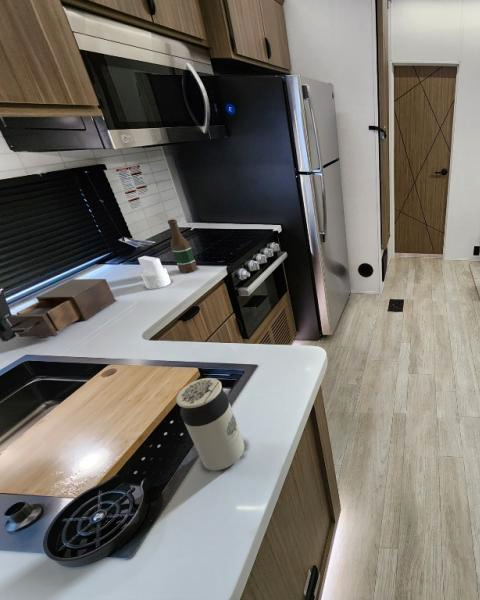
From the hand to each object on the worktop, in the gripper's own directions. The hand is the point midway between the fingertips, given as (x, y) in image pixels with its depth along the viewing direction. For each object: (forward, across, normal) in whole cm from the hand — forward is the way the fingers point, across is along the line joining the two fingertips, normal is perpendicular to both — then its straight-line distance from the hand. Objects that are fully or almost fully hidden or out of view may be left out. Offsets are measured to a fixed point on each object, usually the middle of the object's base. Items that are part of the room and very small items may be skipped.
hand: (9, 338), depth 100 cm
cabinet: (+5, 0, -25) cm, 26 cm away
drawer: (+4, 0, -11) cm, 12 cm away
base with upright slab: (+5, -14, -47) cm, 49 cm away
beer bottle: (+5, -19, -62) cm, 65 cm away
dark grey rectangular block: (+3, 0, -12) cm, 13 cm away
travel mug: (+5, -80, +38) cm, 89 cm away
